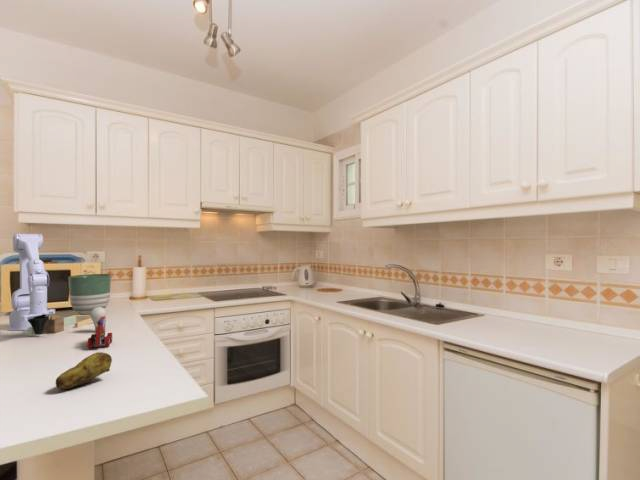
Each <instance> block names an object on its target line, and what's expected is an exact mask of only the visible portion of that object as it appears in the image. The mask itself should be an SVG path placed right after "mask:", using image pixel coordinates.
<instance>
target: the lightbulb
mask: <svg viewBox="0 0 640 480" xmlns="http://www.w3.org/2000/svg"><path fill="white" fill-rule="evenodd" d="M107 313H108V312H107V310H106V308H105V309H104V308H102V307H97V308H94V309H93V310H92V311H91V313H90V317H91V319H92V320H93V322H94V323H93V325H94V326H93V327H94V331H96V329H97V326H98V324H97V322H98V321H99V319H100V318H101V317H106V318H107V315H108V314H107Z"/></svg>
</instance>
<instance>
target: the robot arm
mask: <svg viewBox="0 0 640 480" xmlns="http://www.w3.org/2000/svg"><path fill="white" fill-rule="evenodd" d="M43 244H44V236H43V234H41V233H18V232H17V233H14V234H13V237H12V249H13V252H15V253H18V257H19V288H18V289H17V290H15V291H13V292H12V294H11V302H10V303H11V309H12V310H11V312H9V313H10V314H9V316H8V317H9V319H8V320H9V321H8V322H9V323H8V324H9V325H8V326H9V327H8V328H7V331H28V328H29V327H32V328H33V330H34V333H35V335H34V336H40V335H42V334H43V333H42V332H43V329H44V326H45V324H46V322H47V320H48V319H49V318H50V315H54V314H56V309H55V308H50V309H48V287H49V285H50V276H49V273H48V271H46V269H45V263H44V261H43V260H41V259H40V255H39V254H40V253H39V251H40V249H41V248H42V246H43Z"/></svg>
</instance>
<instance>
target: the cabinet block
mask: <svg viewBox="0 0 640 480" xmlns="http://www.w3.org/2000/svg"><path fill="white" fill-rule="evenodd" d="M64 318H65V317H59V315H57V314H56V315H52V316H49V319H48V320H47V322H46V324H45V326H44V333H43V334H44V335H45V334H47V335H49V334H54V335H55V334H58V333H61V332H64V331H65V326H64Z"/></svg>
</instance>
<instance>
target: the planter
mask: <svg viewBox="0 0 640 480" xmlns="http://www.w3.org/2000/svg"><path fill="white" fill-rule="evenodd" d="M111 283H112V275H111V274H110V273H109V274H108V273H96V274H95V273H92V274H91V273H89V274H77V275H70V276H68V290H69V292H68V293H69V302H70V305H71V307H72V310H73V311H74V312H76V313H77V314H78V315H90V313H91V311H92V310H93V309H94V308H97V307H102V308H104V309H105V310H106V308H107V307H108V305H109V302H110V296H111V286H112V285H111Z"/></svg>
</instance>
